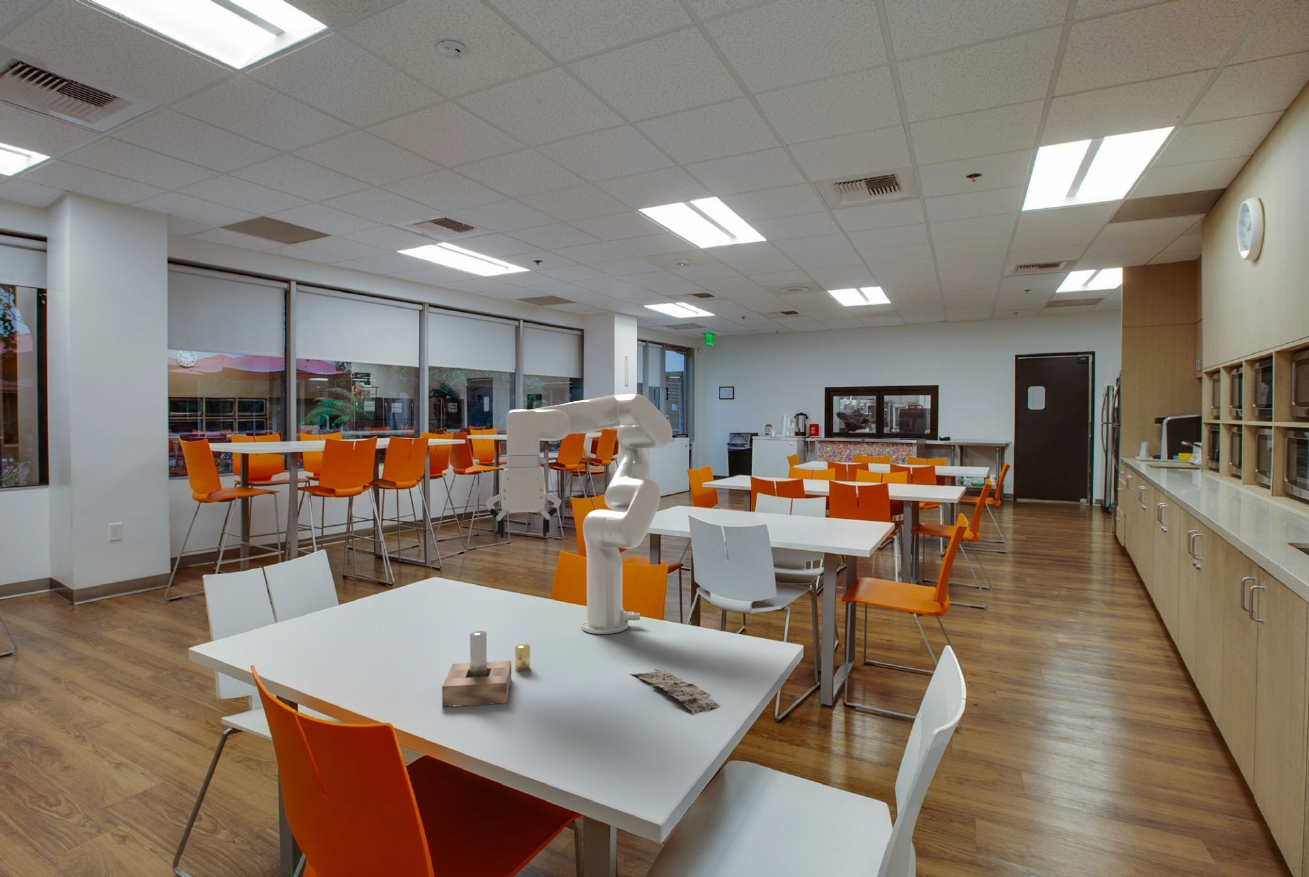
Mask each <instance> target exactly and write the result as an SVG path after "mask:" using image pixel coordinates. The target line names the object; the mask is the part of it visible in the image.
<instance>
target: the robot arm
mask: <svg viewBox="0 0 1309 877" xmlns="http://www.w3.org/2000/svg"><path fill="white" fill-rule="evenodd" d="M615 427H617V432H616V434H617V435H616V438H617V442H618V444H619V450H620V462H619V464H618V467H617V469H616V471H615V472H614V474H613V476H612V478H611V480H610V481H609V484H608V486H607V488H606V491H605V493H604V497H603V499H604V504H605V506H606V507H608V509H606V508H605V509H601V508H598V509H594V510H592V511H590V512H589V513H587V515H585V518H584V519H583V522H582V534H583V539H584V545H585V551H586V552H585V553H586V554H585V555H586V619H585V620H583V621H581V624H580V625H581V627H580V628H581V629H582V631H584V632H586V633H590V634H596V635H612V634H617V633H622V632H623V631H625V630H627V629H628V628H629V621H640V620H641V614H640V612H635V611H626V610H625V609H624V607H623V558H622V555H621V552H620V549H627V550H628V549H630V550H631V549H635V548H637V547H638V546H640V544H641V543H642V542H643V541H644V539H645V537H646V535H647V533H648V531H649V529H650V526H651V525H652V523H653V520H654V518H655V516H656V513H657V511H658V509H659V506H660V502H661V490H660V488H659V485H658V484H657V483H656V482H655V481H654V480H652V479H650V478H647V476H648V474H649V470H650V466H649V462H648V459H647V456H646V454H645V452H644V449H663V448H666V447H667V446H669V444H670V443H671V442H672V439H673V429H672V425H671V423H670V422H669V420H668V419H667V418H666V416H665V415H663V413H662V412H661V410H659V409H658V408H657V406H655V405H654V404H653V403H652V402H651V400H650V399H648V398H647V397H646V396H644V395H642V394H639V393H630V394H629V393H627V394H625V393H623V394H612V395H611V394H610V395H605V396H600V397H596V398H589V399H583V400H577V401H572V402H568V403H563V404H556V405H549V406H544V407H538V408H533V409H511V410H509V411H508V412H507V414H506V468H504V469H503V472H502V480H501V491H500V493H499V494H496V495H495V496H493V497H491V498H489V499H487V500H486V501H485V503H484V504H485V506H486V508H487V509H488V511H489V514H491V515H492V516H493V518H495V519H496V520H497V534H498V535H500V539H502V538H505V536H506V523H505V522H506V519H505V518H504V517H505V516H506V514H507V513H535V512H537V513H538V512H540V514H541V515H542V516H543V519H542V537H544V538H546V537H547V533H550V519H551V518H552V517H553V516H554V515H555V514H556V513H557V511H558V509H559V507H560V505H561V504H562V500H561V498H558V497H557V496H555V495H552V494H551V493H548V492H547V490H546V489H547V488H546V476H545V471H544V467H543V468H541V465H543V464H547V458H546V457H542V456H541V454H540V453H541V451H540V450H541V449H540V448H541V445H540V442H541V441H546V442H547V441H549V442H552V441H553V442H555V441H556V442H557V441H560V440H563V439H565V438H566V437H568V436H569V434H570V435H571V434H572V435H573V434H576V435H577V434H578V435H579V434H580V435H581V434H587V433H588V434H589V433H593V432H598V431H601V430H605V429H611V428H615ZM547 500H548V501H550V502H552V503H553V505H552V507H551V508H550V509H549V511H548V510H547V508H546V506H547ZM499 501H500V507H501V511H500V512H499V511H498V510H497V509H496V508H495V507H494V504H495V503H496V502H499ZM619 548H620V549H619Z"/></svg>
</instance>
